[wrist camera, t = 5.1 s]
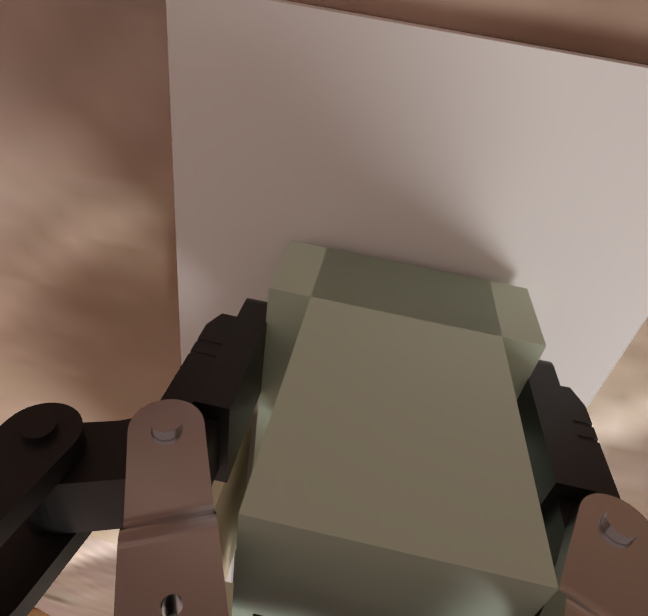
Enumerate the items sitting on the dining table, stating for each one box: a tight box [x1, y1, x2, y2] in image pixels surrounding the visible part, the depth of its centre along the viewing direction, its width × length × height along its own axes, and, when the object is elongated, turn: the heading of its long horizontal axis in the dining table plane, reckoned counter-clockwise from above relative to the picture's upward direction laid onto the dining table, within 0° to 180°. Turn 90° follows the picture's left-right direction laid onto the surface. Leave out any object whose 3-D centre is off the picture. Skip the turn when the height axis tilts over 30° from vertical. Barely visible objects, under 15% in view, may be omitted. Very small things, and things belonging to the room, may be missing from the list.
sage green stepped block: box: [232, 240, 559, 616], centre depth 13 cm, size 14×6×7 cm, turn 172°
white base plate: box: [166, 0, 648, 616], centre depth 15 cm, size 28×12×7 cm, turn 172°
